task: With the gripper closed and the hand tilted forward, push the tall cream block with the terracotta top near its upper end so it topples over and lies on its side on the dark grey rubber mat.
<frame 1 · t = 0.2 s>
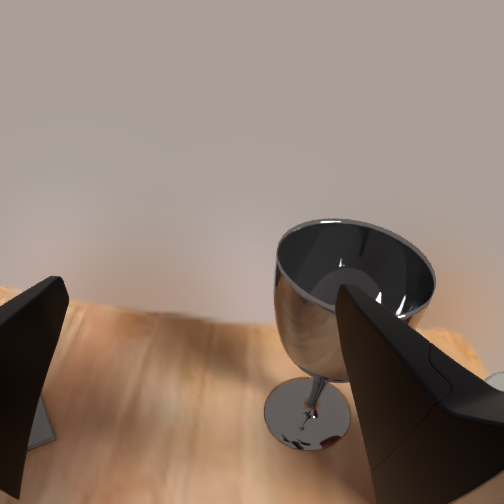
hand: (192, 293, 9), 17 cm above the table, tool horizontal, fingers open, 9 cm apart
wine glass: (308, 413, 22), on the table
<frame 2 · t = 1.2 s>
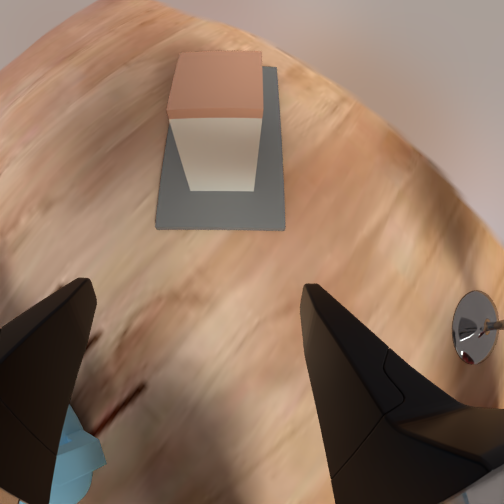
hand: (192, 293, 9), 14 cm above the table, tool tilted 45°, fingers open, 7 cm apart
rubber mat: (224, 134, 26), on the table
wine glass: (476, 327, 23), on the table
teapot: (35, 433, 19), on the table
tall block: (223, 163, 25), point 1 cm above the table, touching rubber mat
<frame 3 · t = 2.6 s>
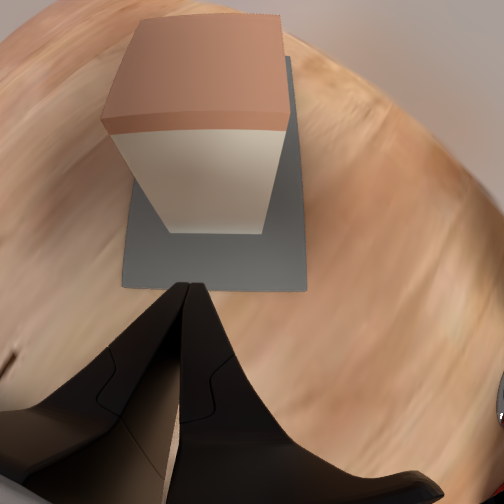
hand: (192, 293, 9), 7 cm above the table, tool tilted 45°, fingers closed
rubber mat: (219, 147, 19), on the table
tall block: (217, 191, 17), point 1 cm above the table, touching rubber mat
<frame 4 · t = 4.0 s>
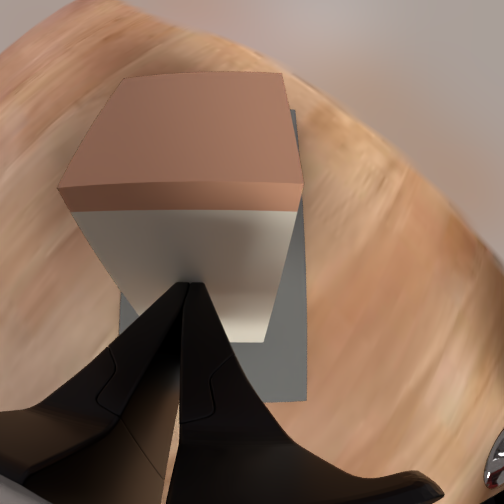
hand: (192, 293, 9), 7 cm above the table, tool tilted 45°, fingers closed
rubber mat: (213, 236, 17), on the table
tall block: (211, 293, 15), point 1 cm above the table, tilted 18°, touching rubber mat
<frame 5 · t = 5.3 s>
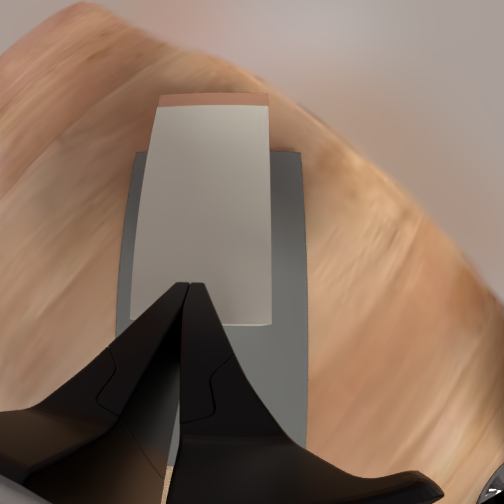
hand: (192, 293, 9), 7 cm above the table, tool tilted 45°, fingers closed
rubber mat: (210, 306, 16), on the table
wine glass: (501, 488, 13), on the table
tall block: (205, 324, 13), point 3 cm above the table, tilted 90°, touching rubber mat
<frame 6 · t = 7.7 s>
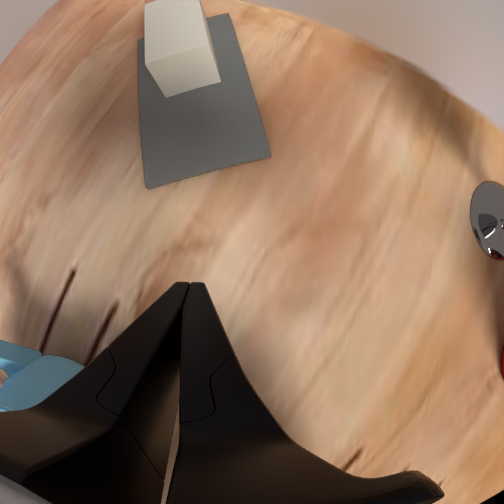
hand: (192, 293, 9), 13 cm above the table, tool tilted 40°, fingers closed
rubber mat: (192, 85, 24), on the table
wine glass: (497, 220, 21), on the table
teapot: (80, 422, 22), on the table
tall block: (185, 72, 21), point 3 cm above the table, tilted 90°, touching rubber mat
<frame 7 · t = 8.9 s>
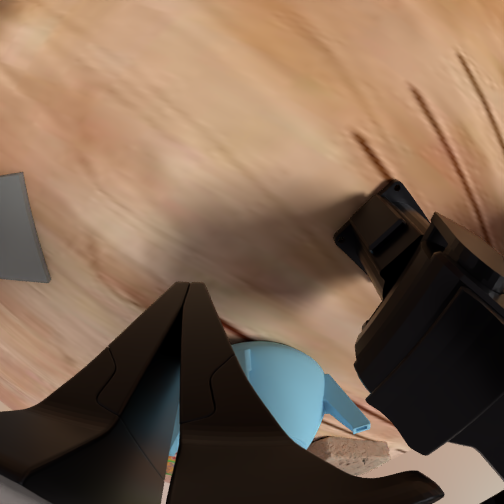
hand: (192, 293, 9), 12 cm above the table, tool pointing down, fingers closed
brick: (343, 446, 43), on the table
teapot: (255, 376, 31), on the table
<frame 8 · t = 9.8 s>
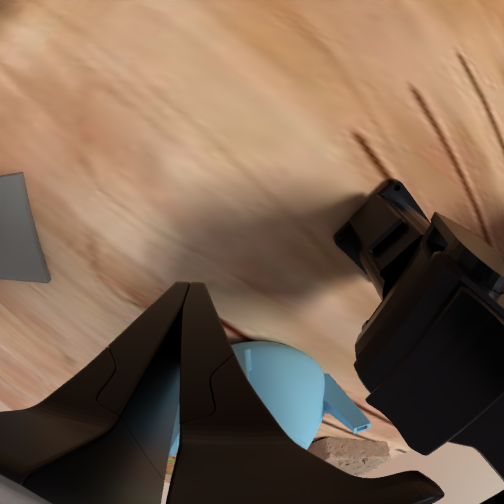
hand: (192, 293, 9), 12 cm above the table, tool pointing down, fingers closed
brick: (343, 446, 43), on the table
teapot: (255, 376, 31), on the table
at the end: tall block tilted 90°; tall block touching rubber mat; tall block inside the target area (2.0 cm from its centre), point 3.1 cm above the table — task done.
